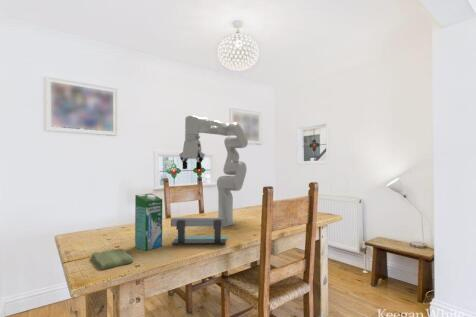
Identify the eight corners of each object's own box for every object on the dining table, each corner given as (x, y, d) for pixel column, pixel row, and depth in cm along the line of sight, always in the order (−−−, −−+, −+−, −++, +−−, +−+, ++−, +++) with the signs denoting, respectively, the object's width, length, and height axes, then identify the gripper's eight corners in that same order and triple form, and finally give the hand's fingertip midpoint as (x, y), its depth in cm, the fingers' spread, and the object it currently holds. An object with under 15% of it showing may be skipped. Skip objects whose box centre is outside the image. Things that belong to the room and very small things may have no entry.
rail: (172, 224, 133) (172, 217, 133) (227, 224, 134) (227, 217, 134) (170, 226, 130) (170, 219, 130) (227, 226, 130) (227, 219, 130)
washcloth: (121, 252, 120) (122, 245, 120) (134, 264, 106) (134, 256, 106) (89, 259, 112) (89, 251, 112) (98, 272, 98) (98, 264, 98)
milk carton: (145, 250, 121) (146, 196, 121) (134, 247, 126) (135, 194, 126) (162, 245, 128) (162, 194, 128) (151, 242, 133) (151, 193, 134)
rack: (174, 241, 135) (175, 218, 135) (225, 241, 135) (225, 218, 135) (171, 246, 128) (171, 221, 128) (225, 245, 128) (225, 221, 128)
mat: (176, 237, 141) (176, 236, 141) (226, 237, 142) (226, 236, 142) (174, 240, 136) (174, 239, 136) (226, 240, 137) (226, 239, 137)
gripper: (208, 138, 145) (208, 169, 145) (184, 139, 154) (184, 168, 153) (200, 137, 139) (199, 169, 138) (175, 138, 147) (175, 169, 147)
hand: (191, 169), depth 146 cm, fingers open, 9 cm apart
